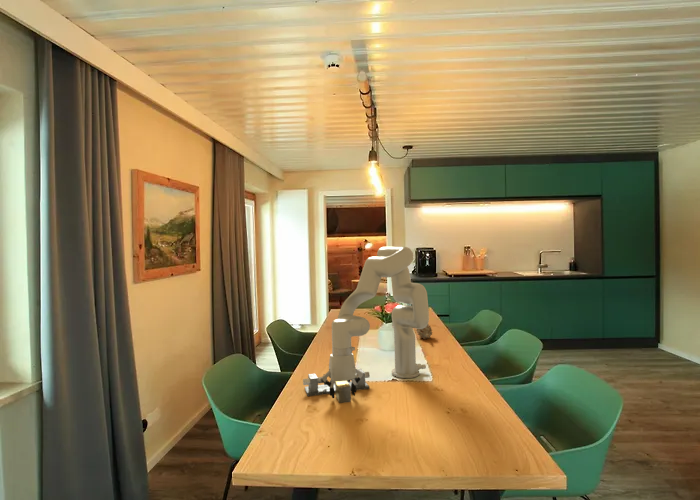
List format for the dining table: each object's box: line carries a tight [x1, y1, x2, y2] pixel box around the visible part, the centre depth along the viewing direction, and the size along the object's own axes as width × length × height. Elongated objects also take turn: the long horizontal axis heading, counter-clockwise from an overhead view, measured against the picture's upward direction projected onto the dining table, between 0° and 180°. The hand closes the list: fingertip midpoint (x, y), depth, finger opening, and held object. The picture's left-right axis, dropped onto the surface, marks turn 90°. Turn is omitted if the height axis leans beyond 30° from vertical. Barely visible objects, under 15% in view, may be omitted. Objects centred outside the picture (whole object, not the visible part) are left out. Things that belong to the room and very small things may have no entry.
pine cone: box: [415, 323, 433, 340], centre depth 244 cm, size 22×10×10 cm, turn 3°
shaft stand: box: [302, 368, 370, 397], centre depth 168 cm, size 28×8×7 cm, turn 104°
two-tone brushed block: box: [335, 380, 352, 404], centre depth 157 cm, size 7×4×6 cm, turn 14°
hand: (343, 395), depth 157 cm, fingers open, 7 cm apart
